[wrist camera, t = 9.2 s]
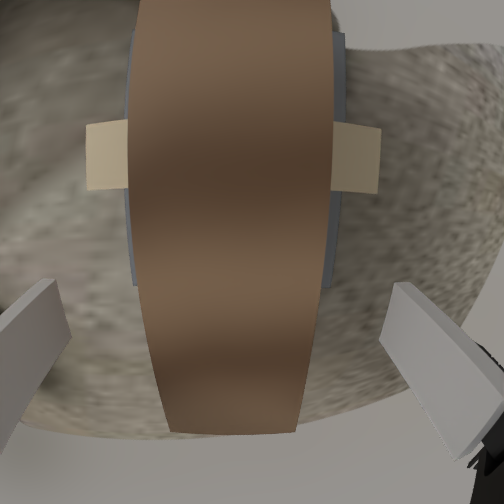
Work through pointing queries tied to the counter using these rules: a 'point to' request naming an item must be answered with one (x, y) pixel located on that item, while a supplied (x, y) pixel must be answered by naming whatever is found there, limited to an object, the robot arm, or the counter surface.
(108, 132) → the fulcrum
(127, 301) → the counter surface
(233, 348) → the beam
